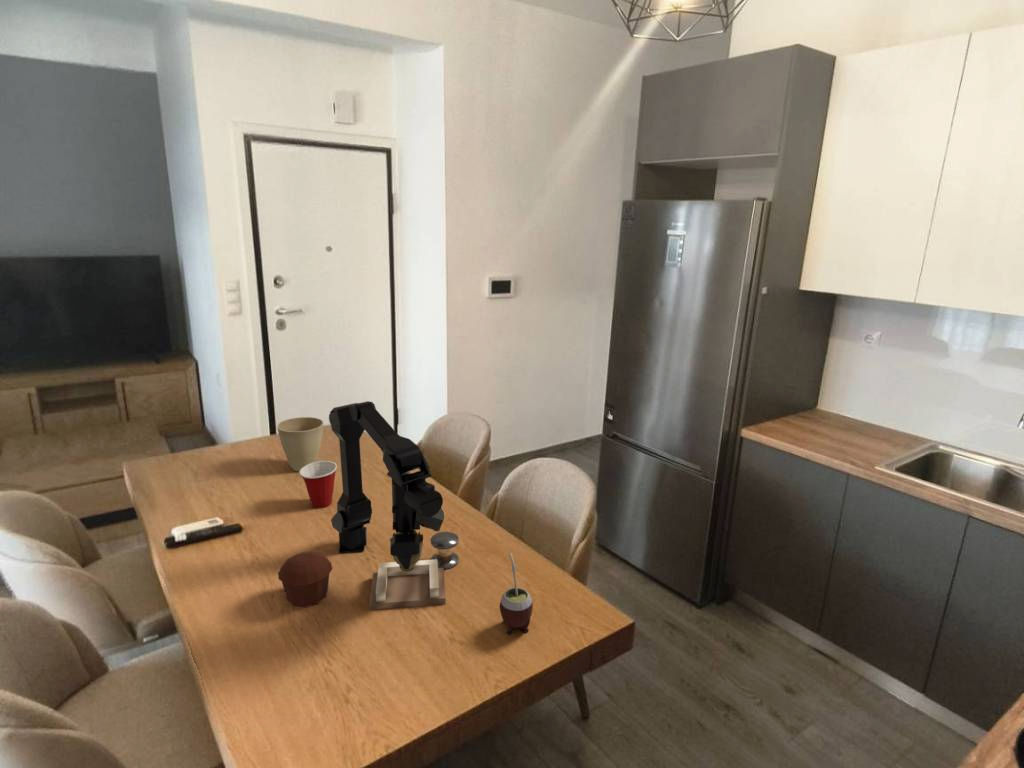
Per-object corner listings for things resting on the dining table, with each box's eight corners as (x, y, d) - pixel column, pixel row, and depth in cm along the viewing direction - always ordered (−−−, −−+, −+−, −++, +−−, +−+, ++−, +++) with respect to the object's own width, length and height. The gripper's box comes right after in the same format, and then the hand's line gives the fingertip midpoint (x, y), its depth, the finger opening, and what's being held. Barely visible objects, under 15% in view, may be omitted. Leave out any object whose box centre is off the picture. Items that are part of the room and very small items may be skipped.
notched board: (369, 609, 131) (368, 594, 130) (373, 577, 142) (372, 563, 141) (445, 603, 133) (445, 588, 132) (443, 573, 145) (443, 558, 143)
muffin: (336, 578, 141) (334, 542, 139) (331, 608, 131) (328, 569, 128) (285, 582, 139) (281, 545, 137) (275, 613, 129) (271, 573, 126)
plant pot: (318, 477, 195) (314, 432, 191) (273, 475, 195) (269, 431, 191) (332, 459, 209) (329, 417, 205) (290, 457, 209) (287, 416, 205)
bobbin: (431, 570, 146) (430, 547, 144) (430, 554, 152) (430, 532, 150) (459, 568, 147) (459, 545, 145) (457, 553, 153) (457, 531, 151)
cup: (416, 579, 131) (416, 548, 128) (386, 575, 132) (384, 543, 130) (428, 561, 138) (427, 531, 135) (398, 557, 139) (397, 527, 137)
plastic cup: (297, 501, 178) (294, 465, 175) (331, 492, 184) (329, 457, 181) (309, 516, 170) (306, 478, 167) (345, 506, 176) (342, 469, 173)
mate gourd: (521, 642, 122) (523, 580, 118) (489, 628, 126) (490, 567, 122) (538, 622, 128) (541, 562, 124) (508, 609, 132) (509, 551, 128)
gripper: (443, 518, 122) (443, 582, 127) (440, 479, 140) (440, 536, 144) (389, 521, 121) (391, 586, 125) (393, 481, 138) (395, 539, 143)
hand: (406, 560), depth 134 cm, fingers closed on cup, 6 cm apart
